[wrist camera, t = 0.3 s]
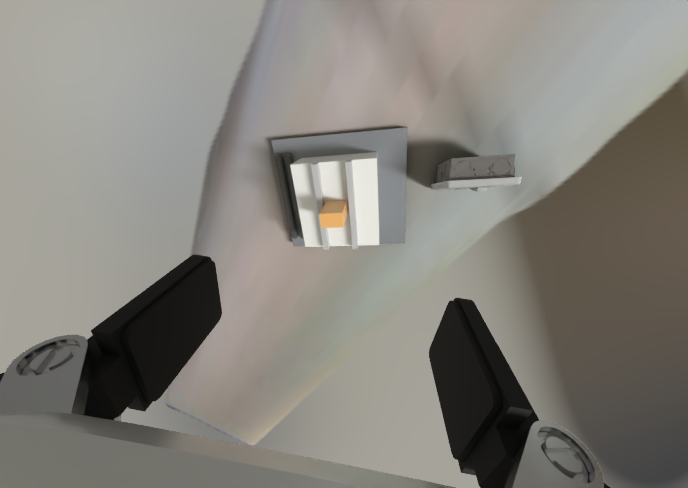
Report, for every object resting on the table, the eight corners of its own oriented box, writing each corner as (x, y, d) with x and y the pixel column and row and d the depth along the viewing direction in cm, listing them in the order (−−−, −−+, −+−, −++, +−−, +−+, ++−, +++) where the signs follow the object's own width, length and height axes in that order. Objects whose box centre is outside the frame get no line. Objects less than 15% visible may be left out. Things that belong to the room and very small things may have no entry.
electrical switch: (429, 188, 41) (443, 201, 32) (431, 156, 39) (446, 159, 31) (490, 185, 40) (521, 197, 31) (495, 151, 38) (529, 154, 29)
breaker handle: (326, 201, 36) (319, 213, 32) (346, 200, 36) (342, 212, 31) (327, 214, 37) (321, 228, 33) (347, 213, 36) (343, 227, 32)
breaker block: (274, 139, 40) (250, 145, 33) (406, 127, 37) (413, 130, 29) (295, 242, 49) (280, 266, 41) (403, 239, 46) (409, 264, 38)
